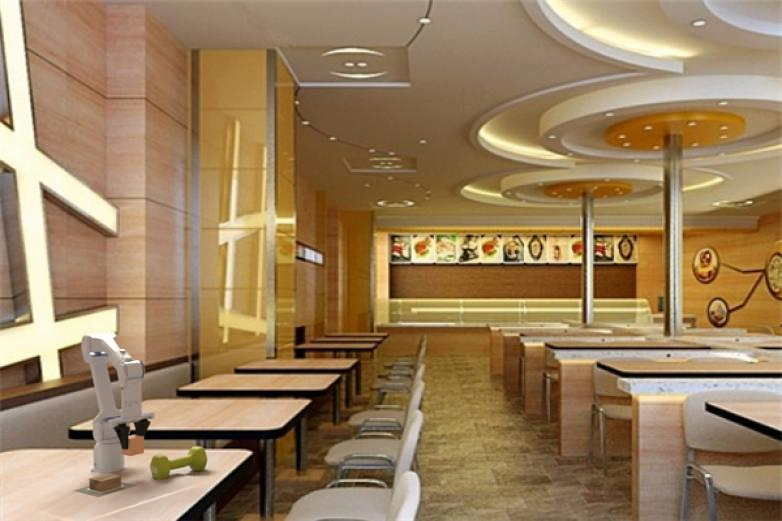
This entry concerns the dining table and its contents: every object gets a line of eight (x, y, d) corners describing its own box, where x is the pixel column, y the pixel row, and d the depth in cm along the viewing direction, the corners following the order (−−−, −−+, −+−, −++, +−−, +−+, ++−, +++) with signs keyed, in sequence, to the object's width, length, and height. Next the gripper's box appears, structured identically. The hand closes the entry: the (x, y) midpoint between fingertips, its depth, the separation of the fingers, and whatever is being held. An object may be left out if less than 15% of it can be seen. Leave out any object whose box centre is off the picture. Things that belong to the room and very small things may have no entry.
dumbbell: (160, 483, 198) (160, 458, 198) (147, 478, 203) (147, 454, 204) (210, 471, 210) (209, 447, 210) (196, 467, 215) (196, 444, 216)
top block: (121, 454, 203) (121, 437, 203) (134, 451, 206) (134, 434, 207) (130, 456, 200) (130, 439, 200) (143, 452, 204) (143, 436, 204)
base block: (89, 489, 192) (89, 478, 192) (108, 483, 197) (108, 473, 197) (101, 492, 188) (101, 481, 188) (121, 486, 193) (121, 475, 193)
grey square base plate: (73, 492, 191) (73, 490, 191) (111, 481, 201) (111, 479, 201) (98, 499, 184) (98, 496, 184) (136, 487, 194) (136, 485, 194)
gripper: (118, 406, 196) (118, 454, 195) (160, 398, 208) (161, 443, 207) (103, 404, 200) (104, 451, 199) (146, 397, 212) (146, 441, 211)
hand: (132, 447), depth 203 cm, fingers closed on top block, 4 cm apart
